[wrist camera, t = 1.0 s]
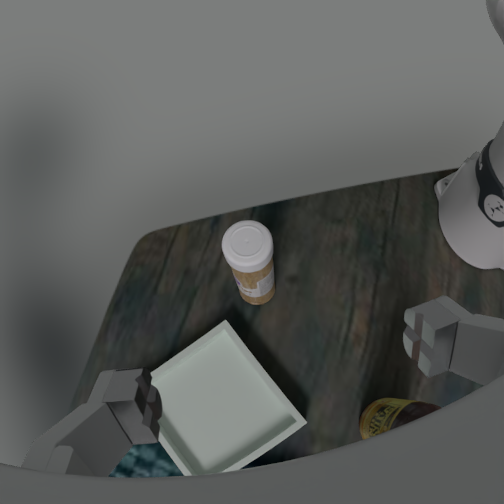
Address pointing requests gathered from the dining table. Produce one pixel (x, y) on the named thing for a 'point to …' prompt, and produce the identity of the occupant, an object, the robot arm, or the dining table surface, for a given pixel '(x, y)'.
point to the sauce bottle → (391, 415)
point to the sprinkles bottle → (251, 260)
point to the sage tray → (220, 405)
